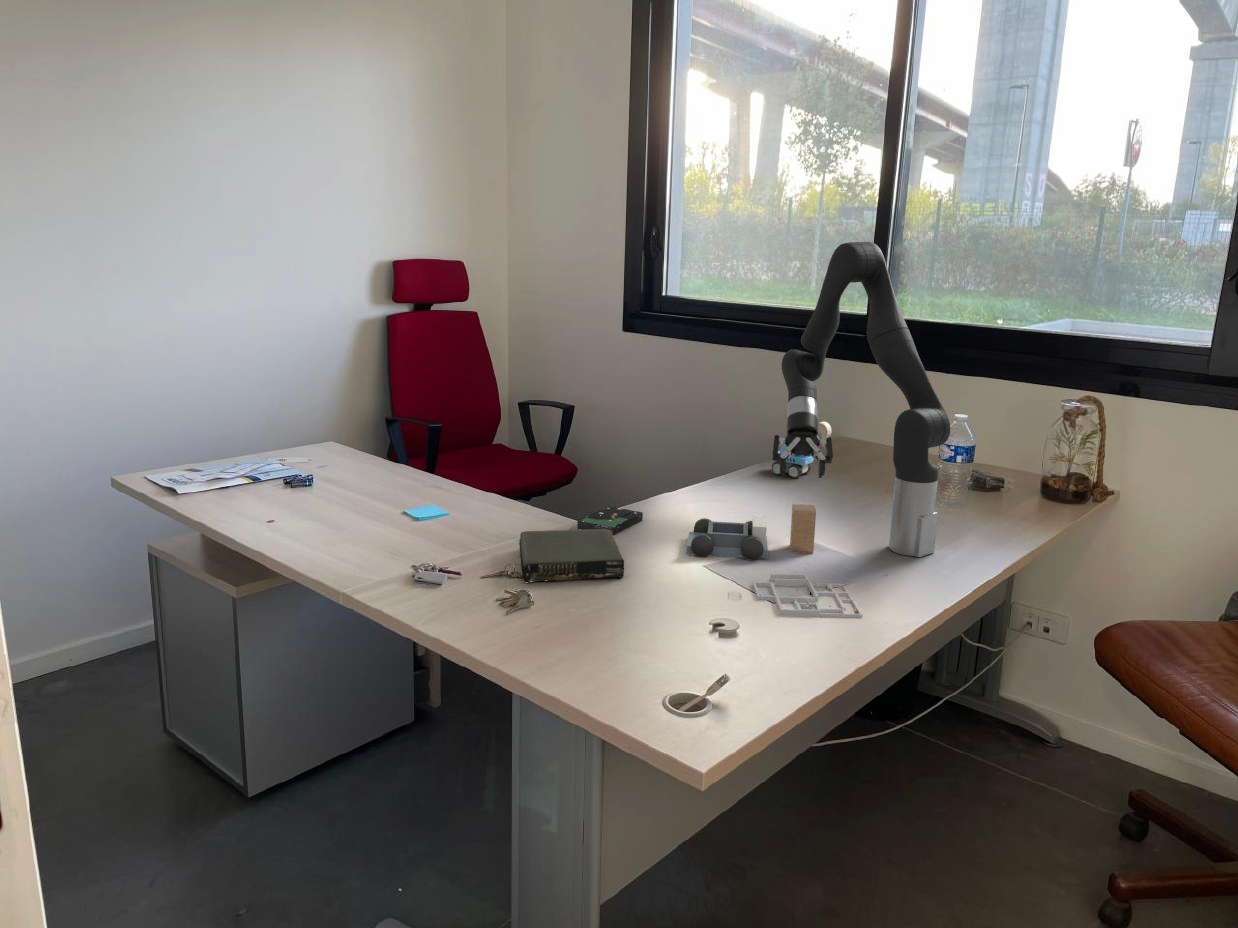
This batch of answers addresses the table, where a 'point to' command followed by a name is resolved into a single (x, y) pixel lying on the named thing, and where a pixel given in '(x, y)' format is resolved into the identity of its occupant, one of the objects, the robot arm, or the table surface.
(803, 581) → the floor plan model
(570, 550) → the network switch
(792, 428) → the robot arm
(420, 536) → the table surface
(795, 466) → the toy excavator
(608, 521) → the disk drive
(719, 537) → the chassis
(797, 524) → the brown rectangular block
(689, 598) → the table surface
